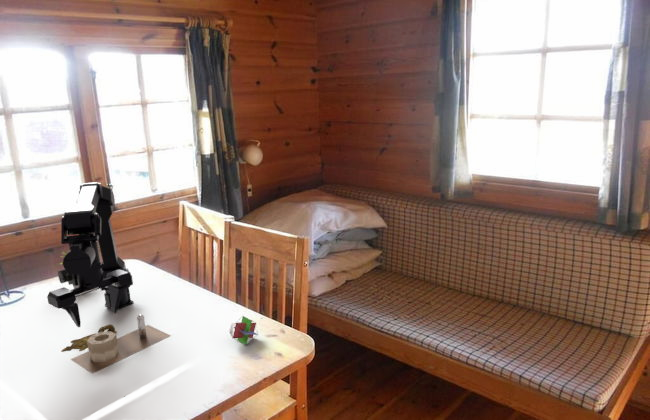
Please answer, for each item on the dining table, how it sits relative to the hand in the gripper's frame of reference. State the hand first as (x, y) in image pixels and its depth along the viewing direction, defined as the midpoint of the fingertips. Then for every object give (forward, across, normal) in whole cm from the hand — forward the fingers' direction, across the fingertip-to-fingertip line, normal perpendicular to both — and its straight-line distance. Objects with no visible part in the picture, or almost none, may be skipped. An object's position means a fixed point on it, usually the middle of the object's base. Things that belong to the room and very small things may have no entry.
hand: (97, 319), depth 124 cm
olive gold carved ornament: (+12, -2, -10) cm, 16 cm away
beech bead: (+10, 0, 0) cm, 10 cm away
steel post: (+10, -11, 0) cm, 15 cm away
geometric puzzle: (+12, -27, +23) cm, 38 cm away
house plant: (+11, -19, -50) cm, 54 cm away
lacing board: (+11, -5, 0) cm, 12 cm away
